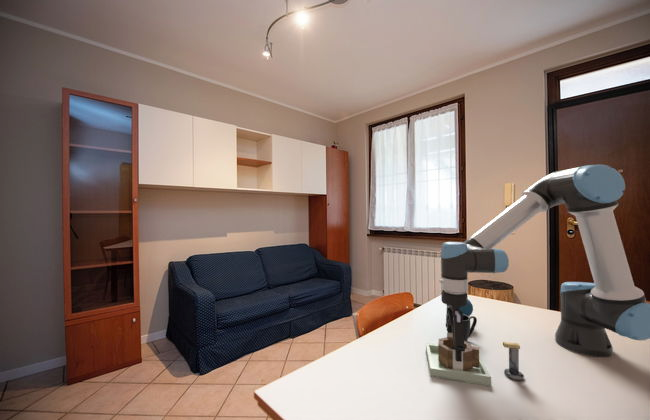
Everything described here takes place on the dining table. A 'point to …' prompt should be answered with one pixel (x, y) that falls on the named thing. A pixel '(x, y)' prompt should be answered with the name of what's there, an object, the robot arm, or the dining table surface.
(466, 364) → the ring
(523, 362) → the dining table surface
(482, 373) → the tray
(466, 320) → the mug
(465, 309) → the light bulb
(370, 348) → the dining table surface
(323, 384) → the dining table surface
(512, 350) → the door handle
